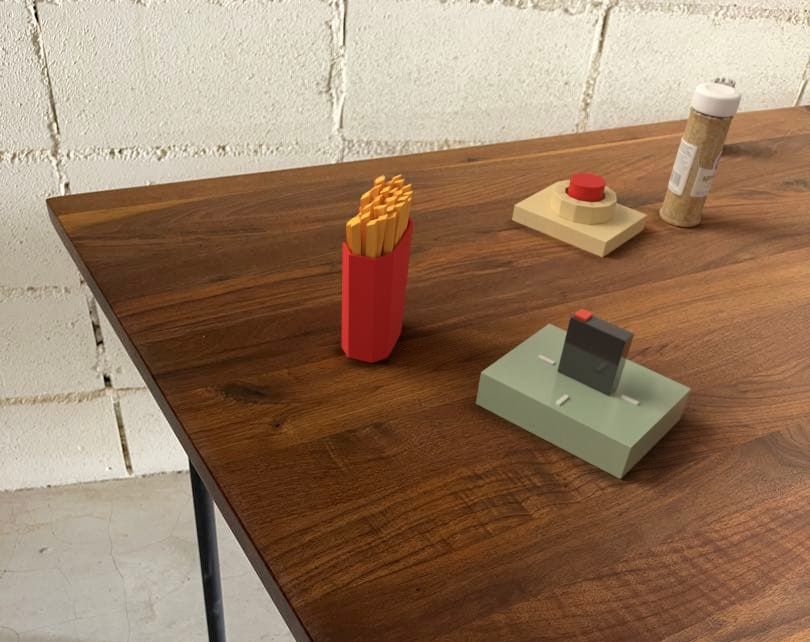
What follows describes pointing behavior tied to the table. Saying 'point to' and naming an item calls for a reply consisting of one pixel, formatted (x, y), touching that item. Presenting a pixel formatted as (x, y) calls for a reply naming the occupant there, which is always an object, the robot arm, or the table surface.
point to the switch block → (580, 218)
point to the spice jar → (699, 153)
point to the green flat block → (581, 404)
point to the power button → (586, 187)
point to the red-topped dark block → (594, 352)
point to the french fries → (376, 271)
